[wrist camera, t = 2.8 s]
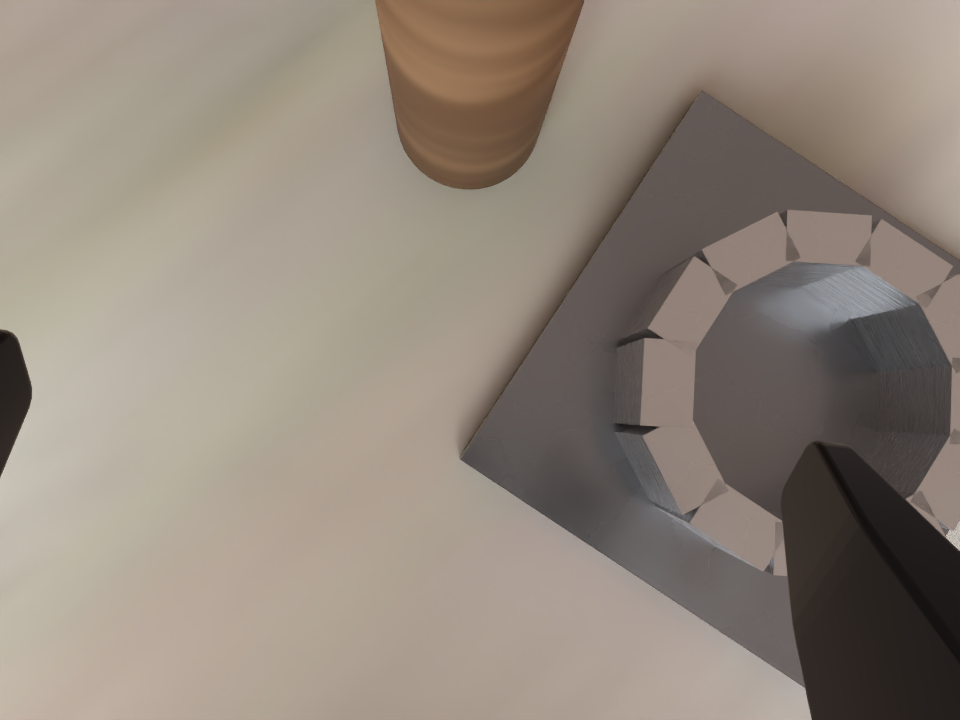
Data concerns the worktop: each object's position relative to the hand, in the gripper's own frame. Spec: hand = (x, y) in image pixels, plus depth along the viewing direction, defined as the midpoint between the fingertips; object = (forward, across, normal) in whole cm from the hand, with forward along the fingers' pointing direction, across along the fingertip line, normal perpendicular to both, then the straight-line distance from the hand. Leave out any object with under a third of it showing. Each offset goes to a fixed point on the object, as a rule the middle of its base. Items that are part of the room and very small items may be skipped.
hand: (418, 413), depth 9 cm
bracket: (+11, -9, +8) cm, 16 cm away
